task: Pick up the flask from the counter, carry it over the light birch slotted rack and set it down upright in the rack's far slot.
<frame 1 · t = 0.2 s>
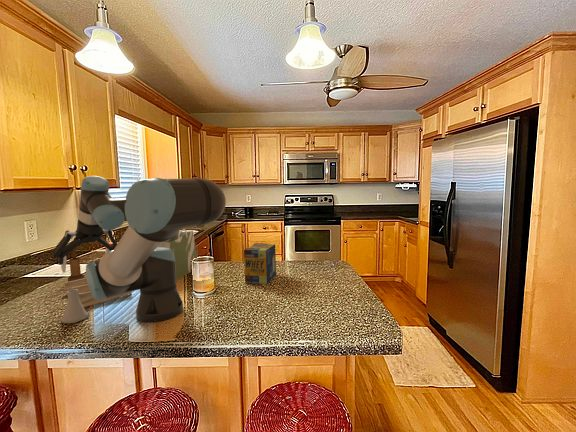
hand: (85, 266, 113), 15 cm above the countertop, tool tilted 30°, fingers open, 13 cm apart
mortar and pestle: (76, 281, 146), on the countertop
flask: (75, 319, 103), on the countertop
grocery bag: (176, 273, 156), on the countertop
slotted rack: (98, 294, 127), on the countertop
protein box: (261, 279, 142), on the countertop
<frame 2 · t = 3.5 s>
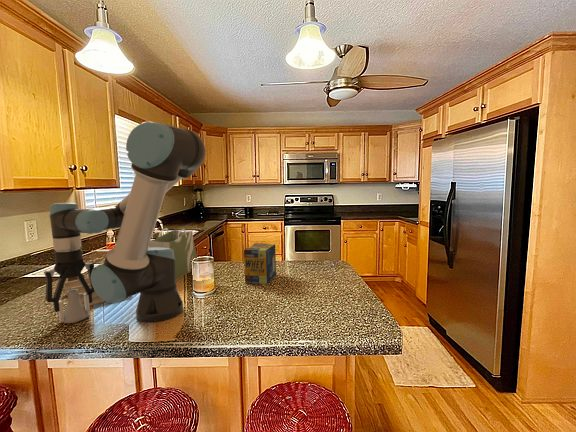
hand: (75, 316, 103), 1 cm above the countertop, tool pointing down, fingers closed on flask, 7 cm apart
flask: (75, 319, 103), on the countertop, touching gripper
everything else where it was.
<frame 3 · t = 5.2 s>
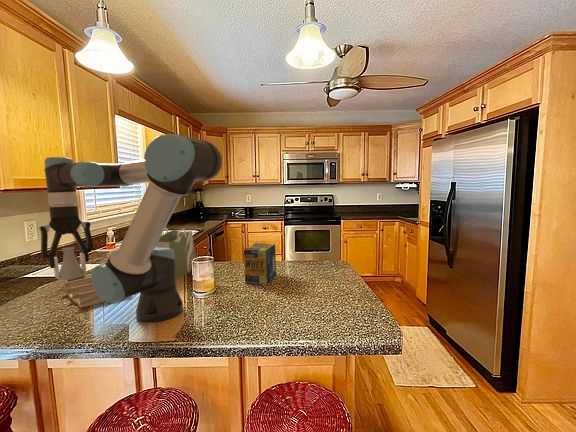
hand: (71, 274, 102), 16 cm above the countertop, tool pointing down, fingers closed on flask, 7 cm apart
flask: (71, 278, 102), point 14 cm above the countertop, touching gripper
everything else where it was.
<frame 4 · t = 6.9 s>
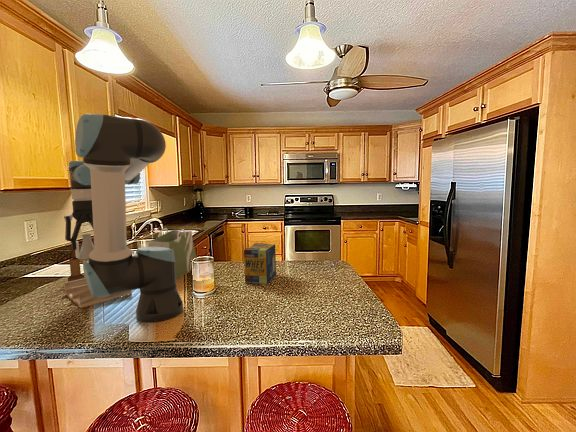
hand: (88, 255, 126), 16 cm above the countertop, tool pointing down, fingers closed on flask, 7 cm apart
flask: (88, 258, 126), point 15 cm above the countertop, touching gripper
everything else where it was.
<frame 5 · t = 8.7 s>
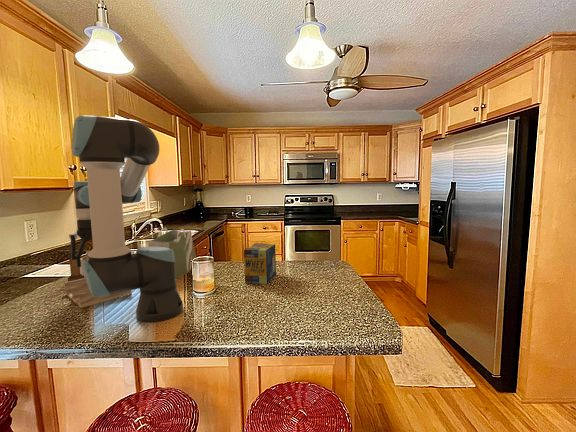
hand: (92, 271, 130), 9 cm above the countertop, tool pointing down, fingers closed on flask, 7 cm apart
flask: (92, 274, 130), point 7 cm above the countertop, touching gripper
everything else where it was.
when the fingers open (4 cm above the countertop, at t = 10.4 s): flask drops 1 cm, resting on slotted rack.
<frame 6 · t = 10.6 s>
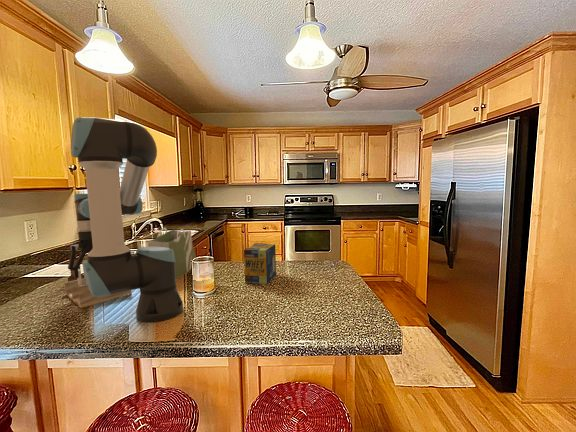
hand: (93, 282, 130), 4 cm above the countertop, tool pointing down, fingers open, 9 cm apart
flask: (94, 289, 130), point 1 cm above the countertop, touching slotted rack
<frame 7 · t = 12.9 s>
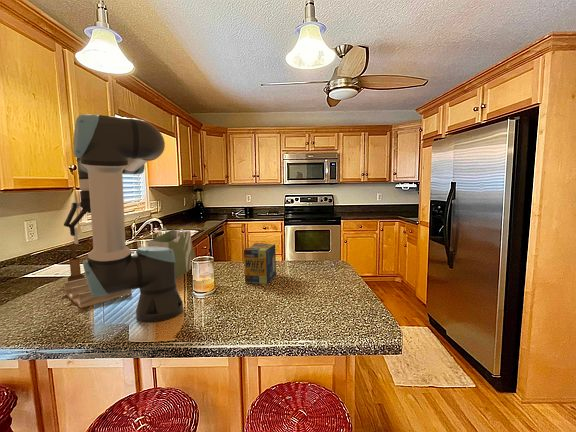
hand: (95, 241, 127), 22 cm above the countertop, tool pointing down, fingers open, 13 cm apart
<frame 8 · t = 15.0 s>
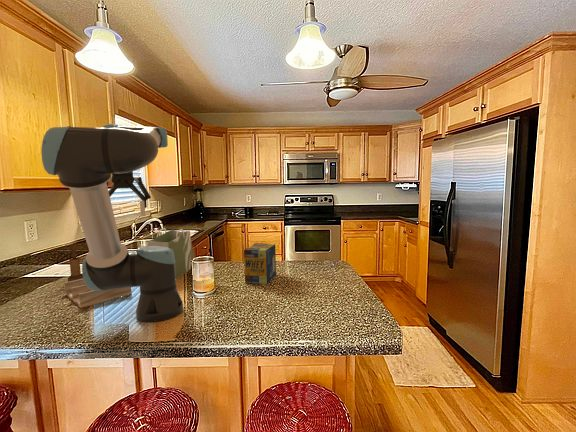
hand: (126, 217, 125), 32 cm above the countertop, tool pointing down, fingers open, 13 cm apart
at the end: flask inside the target area on the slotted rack (0.0 cm from its centre), point 1.0 cm above the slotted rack's base; flask tilted 0°; the gripper is holding nothing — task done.
